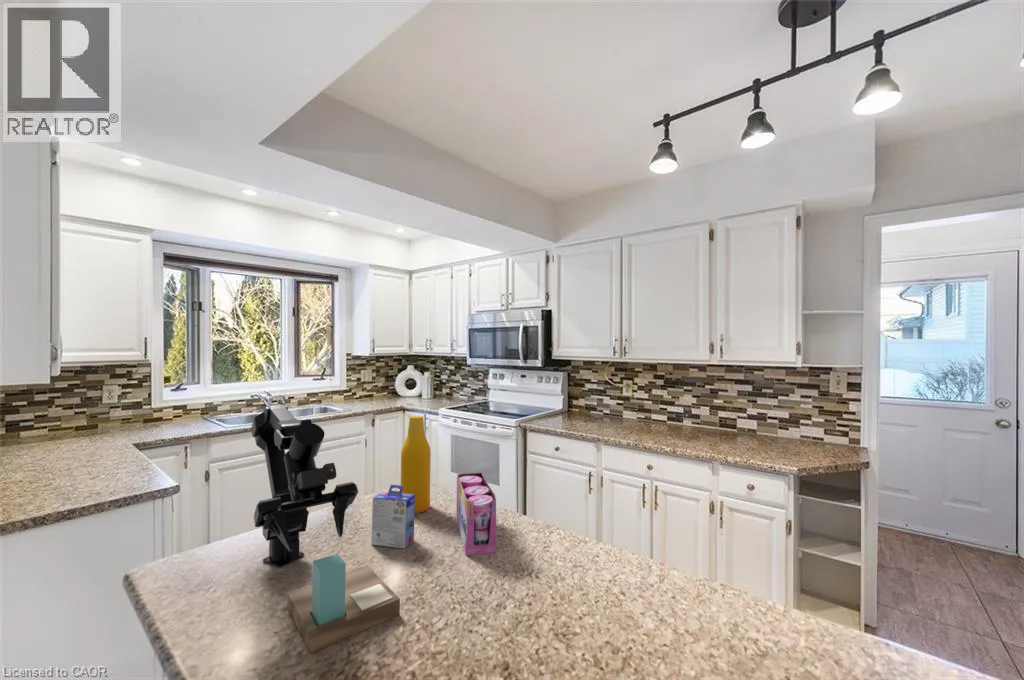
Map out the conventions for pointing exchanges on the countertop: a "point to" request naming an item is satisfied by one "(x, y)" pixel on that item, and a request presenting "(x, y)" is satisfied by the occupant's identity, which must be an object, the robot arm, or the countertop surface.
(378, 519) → the ink cartridge box
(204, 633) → the countertop surface
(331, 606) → the plug
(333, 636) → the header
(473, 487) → the gum box
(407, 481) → the beer bottle
